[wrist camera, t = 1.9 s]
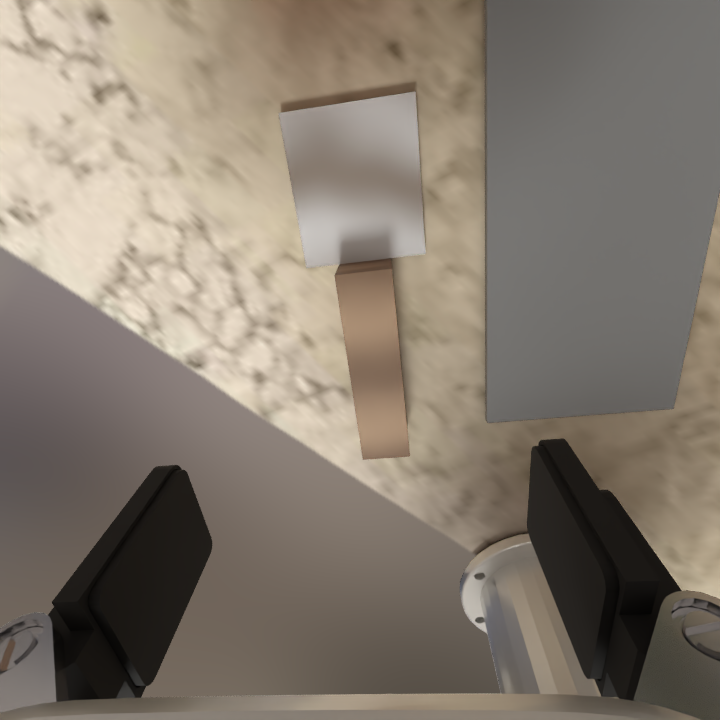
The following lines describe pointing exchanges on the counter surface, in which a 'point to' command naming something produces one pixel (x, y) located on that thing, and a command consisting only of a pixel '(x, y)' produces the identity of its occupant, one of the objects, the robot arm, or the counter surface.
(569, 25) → the mat
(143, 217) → the counter surface
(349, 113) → the turner
